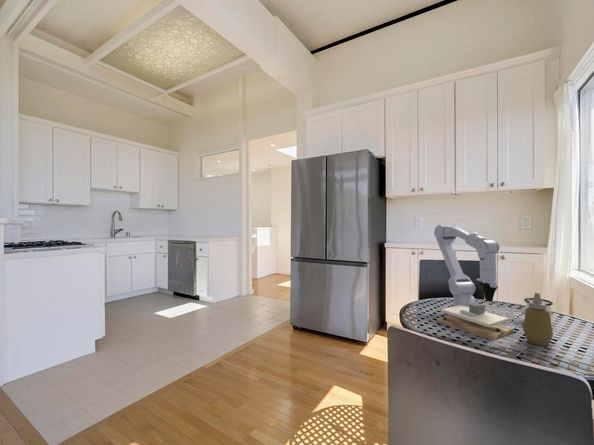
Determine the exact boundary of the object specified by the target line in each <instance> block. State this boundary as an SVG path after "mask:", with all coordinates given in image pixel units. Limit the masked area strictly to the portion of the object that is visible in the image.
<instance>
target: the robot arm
mask: <svg viewBox="0 0 594 445" xmlns="http://www.w3.org/2000/svg"><path fill="white" fill-rule="evenodd" d="M433 235H434V236H435V237H434V238H435V239H436V241H437V244H438V248H439V249H440V251H441V254H442V257H443V259H444V260H443V261H445V265H446V267H447V269H448V272H449V274H450V277H449V279H448V280H447V282H448V289H449V292H450V293H451V294H452V296H453V306H457V305H463V306H466V307H469V304H473V303H477V302H476V298H475V297H474V296H473V295H474V294H475V292H476V285H475V284H474V282H473V281H472V280H471V277H469V276H468V275H466V274H465V273H464V272H463V270H462V268H461V265H460V262H459V261H458V257H457V256H456V253H455V251H454V249H453V247H452V244H453V243H454V242H455V241H456V238H459V239H462V240H464V242H465V244H466V245H468V246H470V247H472V248H473V249H475V250H476V252H477V257H478V258H479V278H476V281H478V282H482V283H479V286H480V287H481V289H482V292H483V295H484V296H483V297H484V299H485V300H484V301H486V302H489V303H491V302H493V301H494V296H495V293H496V290H498V287H499V286H498V285H497V283H498V279H497V253H498V252H499V250H500V245H499V243H498V242H497V240H495V239H487V237H482V236H481V235H479V234H478V233H477V232H471V233H469V232H467V231H466V230H464V229H462V228H460V226H459V225H456V224H437V225H436V226H435V228H434V231H433Z"/></svg>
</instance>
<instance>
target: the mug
mask: <svg viewBox="0 0 594 445" xmlns="http://www.w3.org/2000/svg"><path fill="white" fill-rule="evenodd" d="M533 298H534V297H525V298H524V299H523V301H524V302H525V308H524V312H525V311H526V308H528V307H529V302H533ZM541 301H542V303H544V304H546V310H547V311H549V312H550V319H551V320H552V306H553V304H554V303H553V301H551V300H547V299H543V298H541Z"/></svg>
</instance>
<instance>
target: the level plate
mask: <svg viewBox="0 0 594 445" xmlns="http://www.w3.org/2000/svg"><path fill="white" fill-rule="evenodd" d="M485 308H486V306H485V305H483V304H479V303H477V302H476V303H473V304H469V307H466V306H463V305H457V306H454V305H453V306H449V307H443V308H441V309H440V312H441V313H443V314H447V315H448V316H449V315H452V316H456V317H459V318H462V319H465V320H468V321H471V322H474V323H477V324H480V325H483V326H486V327H492V326H495V325H502V324H505V323H508V322H510V318H509V317H505V316H501V315H498V314H495V313H491V312H487V311H486V309H485Z"/></svg>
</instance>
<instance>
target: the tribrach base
mask: <svg viewBox="0 0 594 445" xmlns="http://www.w3.org/2000/svg"><path fill="white" fill-rule="evenodd" d="M437 323H440V324H444V325H446V326H449V327H452V328H453V329H454V328H455V329H457V330H460V331H463V332H466V333H469V334H472V335H474V336H477V337H479V338H482V339H486V340H488V341H493V340H496V339H499V338H502V337H506V336H508V335H511V334H514V328H510V327H508V326H505V325H502V324H499V325H495V326H492V327H486V326H483V325H480V324H477V323H474V322H471V321H468V320H465V319H462V318H459V317H456V316H452V315H449V314H448V315H445V316H442V317H438V318H437Z"/></svg>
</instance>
